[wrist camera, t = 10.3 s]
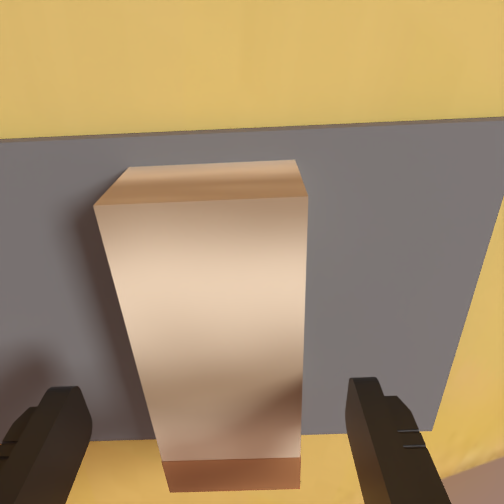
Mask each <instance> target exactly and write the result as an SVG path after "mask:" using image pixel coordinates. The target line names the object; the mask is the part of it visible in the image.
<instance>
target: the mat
mask: <svg viewBox="0 0 504 504" xmlns="http://www.w3.org/2000/svg"><path fill="white" fill-rule="evenodd" d="M275 160H295V161H296V164H297V166H298V169H299V172H300V175H301V177H302V180H303V183H304V186H305V188H306V191H307V194H308V226H307V257H306V289H305V321H304V353H303V384H302V416H301V435H312V434H346V433H347V430H346V423H345V407H346V400H347V392H348V384H349V379H350V378H354V377H376V378H377V379H378V381H379V383H380V386H381V388H382V391H383V394H384V396H398V397H399V398H400V399H401V401H402V402H403V403H404V404H405V405H406V406H407V407H408V408H409V409H410V410H411V412H412V414H413V417H414V419H415V421H416V424H417V426H418V428H419V431H432V429H433V425H434V422H435V419H436V415H437V412H438V409H439V406H440V402H441V399H442V396H443V393H444V389H445V386H446V383H447V379H448V376H449V373H450V370H451V366H452V363H453V360H454V356H455V353H456V350H457V347H458V343H459V340H460V337H461V334H462V330H463V327H464V324H465V320H466V317H467V314H468V311H469V307H470V304H471V301H472V298H473V294H474V291H475V288H476V284H477V281H478V278H479V275H480V271H481V268H482V265H483V261H484V258H485V255H486V252H487V248H488V245H489V242H490V239H491V235H492V232H493V229H494V225H495V222H496V219H497V216H498V212H499V209H500V206H501V203H502V199H503V196H504V117H487V118H465V119H443V120H420V121H398V122H375V123H353V124H330V125H308V126H285V127H263V128H240V129H218V130H196V131H173V132H151V133H128V134H106V135H83V136H61V137H38V138H16V139H0V444H2V440H3V439H4V437H5V435H6V434H7V432H8V431H9V429H10V427H11V426H12V424H13V423H14V422H15V421H16V420H17V419H18V418H19V417H20V416H21V415H22V414H23V413H24V412H25V411H26V410H27V409H28V408H29V407H36V406H38V405H39V403H40V401H41V399H42V398H43V396H44V394H45V392H46V391H47V390H48V389H49V388H50V387H59V386H78V387H79V388H80V389H81V391H82V394H83V397H84V399H85V402H86V404H87V407H88V410H89V412H90V415H91V418H92V434H91V439H90V441H111V440H145V439H156V436H155V433H154V429H153V425H152V421H151V418H150V414H149V410H148V407H147V403H146V399H145V396H144V392H143V388H142V385H141V381H140V377H139V373H138V370H137V366H136V362H135V359H134V355H133V351H132V348H131V344H130V340H129V337H128V333H127V329H126V325H125V322H124V318H123V314H122V311H121V307H120V303H119V300H118V296H117V292H116V289H115V285H114V281H113V278H112V274H111V270H110V266H109V263H108V259H107V255H106V252H105V248H104V244H103V241H102V237H101V233H100V230H99V226H98V222H97V218H96V215H95V211H94V207H93V205H94V204H95V203H96V202H97V201H98V200H99V199H100V198H101V196H102V195H103V194H104V193H105V192H106V191H107V190H108V189H109V188H110V187H111V186H112V185H113V184H114V183H115V181H116V180H117V179H118V178H119V177H120V176H121V175H122V174H123V173H124V172H125V171H126V170H127V169H128V168H129V167H140V166H163V165H185V164H208V163H230V162H253V161H275Z"/></svg>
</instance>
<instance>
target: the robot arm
mask: <svg viewBox="0 0 504 504" xmlns="http://www.w3.org/2000/svg"><path fill="white" fill-rule="evenodd" d="M345 423H346V430H347V434H348V438H349V442H350V446H351V450H352V455H353V459H354V463H355V467H356V471H357V475H358V479H359V483H360V487H361V491H362V495H363V499H364V503H365V504H451V502H450V500H449V497H448V495H447V493H446V491H445V488H444V486H443V484H442V482H441V479H440V477H439V474H438V472H437V470H436V467H435V465H434V463H433V460H432V458H431V456H430V454H429V451H428V449H427V448H426V446H425V442H424V440H423V437H422V435H421V433H419V428H418V426H417V424H416V421H415V419H414V417H413V414H412V412H411V410H410V409H409V408H408V407H407V406H406V405H405V404H404V403H403V402H402V401H401V399H400V398H399V397H398V396H384V394H383V391H382V388H381V386H380V383H379V381H378V379H377V378H376V377H354V378H350V379H349V384H348V392H347V400H346V407H345ZM91 434H92V418H91V415H90V412H89V410H88V407H87V404H86V402H85V399H84V397H83V394H82V391H81V389H80V388H79V387H78V386H59V387H50V388H49V389H48V390H47V391H46V392H45V394H44V396H43V398H42V399H41V401H40V403H39V405H38V406H36V407H29V408H28V409H27V410H26V411H25V412H24V413H23V414H22V415H21V416H20V417H19V418H18V419H17V420H16V421H15V422H14V423H13V424H12V426H11V427H10V429H9V431H8V432H7V434H6V435H5V437H4V439H3V440H2V444H1V445H0V504H65V503H66V501H67V498H68V495H69V493H70V490H71V488H72V485H73V483H74V480H75V477H76V475H77V472H78V470H79V467H80V465H81V462H82V460H83V457H84V454H85V452H86V449H87V447H88V444H89V442H90V439H91Z"/></svg>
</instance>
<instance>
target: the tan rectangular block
mask: <svg viewBox="0 0 504 504" xmlns="http://www.w3.org/2000/svg"><path fill="white" fill-rule="evenodd" d="M93 207H94V211H95V215H96V218H97V222H98V226H99V230H100V233H101V237H102V241H103V244H104V248H105V252H106V255H107V259H108V263H109V266H110V270H111V274H112V278H113V281H114V285H115V289H116V292H117V296H118V300H119V303H120V307H121V311H122V314H123V318H124V322H125V325H126V329H127V333H128V337H129V340H130V344H131V348H132V351H133V355H134V359H135V362H136V366H137V370H138V373H139V377H140V381H141V385H142V388H143V392H144V396H145V399H146V403H147V407H148V410H149V414H150V418H151V421H152V425H153V429H154V433H155V436H156V440H157V444H158V447H159V451H160V455H161V458H162V465H163V469H164V472H165V476H166V480H167V483H168V487H169V491H170V492H206V491H241V490H277V489H300V468H301V455H300V448H301V416H302V384H303V353H304V321H305V289H306V257H307V226H308V194H307V191H306V188H305V186H304V183H303V180H302V177H301V175H300V172H299V169H298V166H297V164H296V161H295V160H275V161H253V162H230V163H208V164H185V165H163V166H140V167H129V168H128V169H127V170H126V171H125V172H124V173H123V174H122V175H121V176H120V177H119V178H118V179H117V180H116V181H115V183H114V184H113V185H112V186H111V187H110V188H109V189H108V190H107V191H106V192H105V193H104V194H103V195H102V196H101V198H100V199H99V200H98V201H97V202H96V203H95V204H94V205H93Z"/></svg>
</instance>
